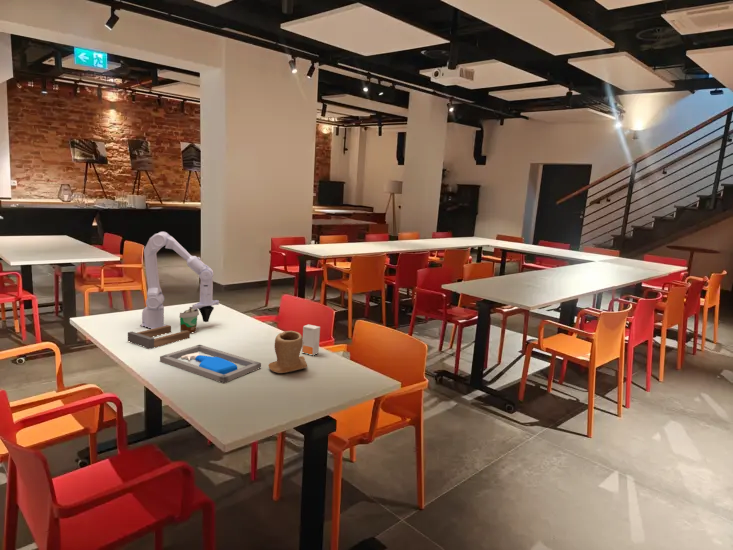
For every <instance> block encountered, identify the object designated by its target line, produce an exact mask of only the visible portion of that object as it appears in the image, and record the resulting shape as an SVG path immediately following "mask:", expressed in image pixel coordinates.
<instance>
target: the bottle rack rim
mask: <svg viewBox="0 0 733 550" xmlns="http://www.w3.org/2000/svg"><path fill="white" fill-rule="evenodd" d="M198 352H199V353H202V354H206V355H209V356H211V357H219V358H222V359H225V360H227V361H230V362H232V363H234V364H239V365H241V366H242V367H240V368H238V369H237V370H235V371H232V372H230V373H227V374H224V375H223V374H220V373H217V372H214V371H211V370H208V369H205V368H202V367H199V365H196V364H193V363H191V362H190V363H189V362H187V361H184V360H182V359H181V356H184V355H187V354H192V353H198ZM160 361H161V362H160ZM159 362H160V363H164V364H167V365H169V366H172V367H175V368H178V369H181V370H185V371H187V372H190V373H193V374H196V375H199V376H200V377H201V376H202V377H204V378H208V379H210V378H211V379H210V380H213V379H214V380H213V381H216V380H217V381H216V382H219V381H220V382H219V383H222V382H223V383H222V384H226V383H228V382H230V381H233V380H235V379H238V378H240V377H242V375H243V376H244V374H245V375H248V374H249V372H250V373H252V372H254V371H253V370H255V371H257V370H259V369H258V368H260V367H261V368H262V363H261V362H258V361H256V360H252V359H249V358H245V357H243V356H240V355H236V354H232V353H229V352H226V351H222V350H218V349H215V348H213V347H210V346H206V345H202V344H197V345H194V346H190V347H186V348H184V349H181V350H177V351H173V352H170V353H167V354H163V355H160V356H159ZM261 368H260V369H261ZM256 369H257V370H256ZM251 371H252V372H251ZM247 373H248V374H247ZM239 376H240V377H239ZM237 377H238V378H237ZM234 378H235V379H234ZM232 379H233V380H232ZM227 381H228V382H227ZM225 382H226V383H225Z"/></svg>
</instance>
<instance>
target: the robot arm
mask: <svg viewBox="0 0 733 550" xmlns="http://www.w3.org/2000/svg"><path fill="white" fill-rule="evenodd" d="M164 246H165V247H164ZM163 247H164V248H165V249H167V250H168V249H169V250H173V251H174V252H176V254H178V255H179V256H180V257H181V258H182V259H183V260H185V261H186V266H187V267H189V268H190V269H191V270H192V271H193V273H195V274H196V275H198V277H199V279H200V284H199V302H197V303H195V304H192V305H191V307H192V309H195V310H196V309H198V311H199V313H200V314H201V317H202V321H203V323H208V322H209V321H210V317H211V314H212V312H213V311H214V308H215V307H214V306H217V305H218V306H219V305H220V300H218V299H215V300H214V299H213V295H214V294H213V291H214V289H213V287H214V284H213V281H214V280H213V278H214V275H215V274H214V271H213V269H212V268H211V267H210V266H209V265H208V264H206V263H204V262H203V261H202V260H201V259H202V258H201V257H200V256H198V257H197V255H191V254H190V253H189V252H188V251H187V249H186V248H185V247H183V246H182V244H180V243H179V242H178V241H177V240H176V239H175V238H174V237H173V236H172V235H170V234H169V233H168V232H166V231H159V232H158V233H154V234H153V235H152V236H150V237H149V239H148V241H147V243H146V245H145V247H144V249H143V256H144V264H145V265H144V266H145V273H146V280H147V281H146V283H147V293H146V296H147V298H146V300H145V305H146V306H145V307H144V308H143V309H142V312H141V319H142V321H141V322H142V323H141V324H140V327H143V326H145V327H144V328H146V327H148V328H147V329H149V328H151V329H154V328H158V327H162V326H167V325H168V324H165V306H164V302H165V295H164V294H163V292H162V291H163V290H162V288H161V284H160V275H159V267H158V266H159V265H158V257H157V253H158V252H159V251H160V250H161V249H162V248H163Z"/></svg>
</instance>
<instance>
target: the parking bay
mask: <svg viewBox="0 0 733 550" xmlns="http://www.w3.org/2000/svg"><path fill="white" fill-rule="evenodd" d="M166 325H167V326H162V327H158V328H154V329H145V330H142V331H139V332H136V333H139V334H142V335H145V336H148V337H152V338H154V337H153V336H155V338H154V347H155V348H158V346H159V347H161V346H166V345H168V344H173V343H177V342H180V341H183V339H184V340H187V339H190V338H191V337H190V334H191V333H190V331H187V330H186V331H182V332H181V331H180V332H179V331H178V332H175V333H172V325H170V324H169V325H168V324H166ZM169 332H171V333H169ZM165 333H167V334H168V335H167V334H166V335H165ZM161 334H163V335H164V336H163V335H161ZM157 335H159V336H157ZM179 340H180V341H179ZM176 341H177V342H176ZM172 342H173V343H172ZM165 344H166V345H165Z"/></svg>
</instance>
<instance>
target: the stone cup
mask: <svg viewBox="0 0 733 550" xmlns="http://www.w3.org/2000/svg"><path fill="white" fill-rule="evenodd" d="M302 339H303V335H302V334H301V333H300V332H298V331H295V330H294V331H293V330H285V331H283V332H280V333H278V334H277V335H276V337H275V339H274V353H275V355H276V361H273V362H269V364H268V369H270V371H272V372H273V373H274V372H275V373H277V374H283V373H284V374H285V373H289V372H295V371H299V370H303V369H306V368H308V366H309V365H308V363H307V361H306V358H305V357H304V356H302V355H300V354H301V352H302V345H303V340H302Z"/></svg>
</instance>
